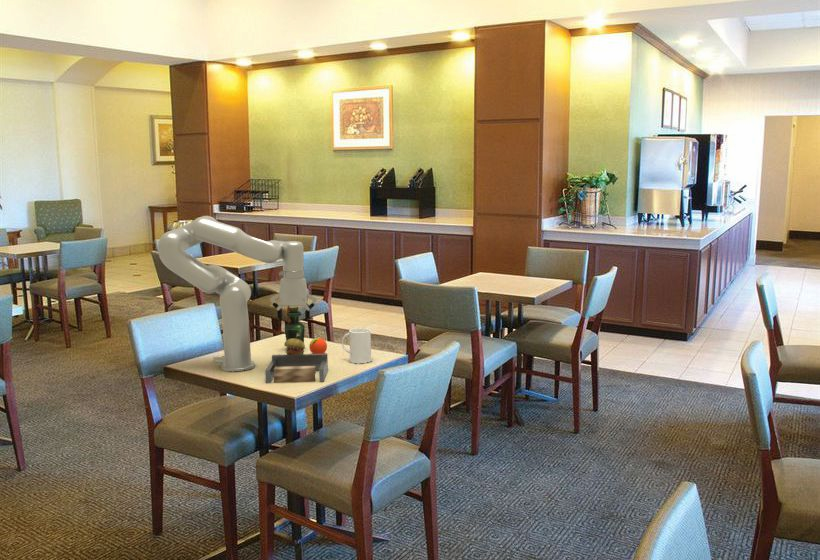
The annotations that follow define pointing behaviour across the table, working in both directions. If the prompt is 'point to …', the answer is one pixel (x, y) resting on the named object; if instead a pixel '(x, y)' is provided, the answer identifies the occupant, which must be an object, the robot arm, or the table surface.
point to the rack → (298, 363)
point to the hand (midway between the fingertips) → (293, 320)
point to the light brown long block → (294, 374)
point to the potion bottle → (294, 325)
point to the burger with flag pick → (294, 346)
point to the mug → (359, 345)
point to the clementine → (318, 346)
